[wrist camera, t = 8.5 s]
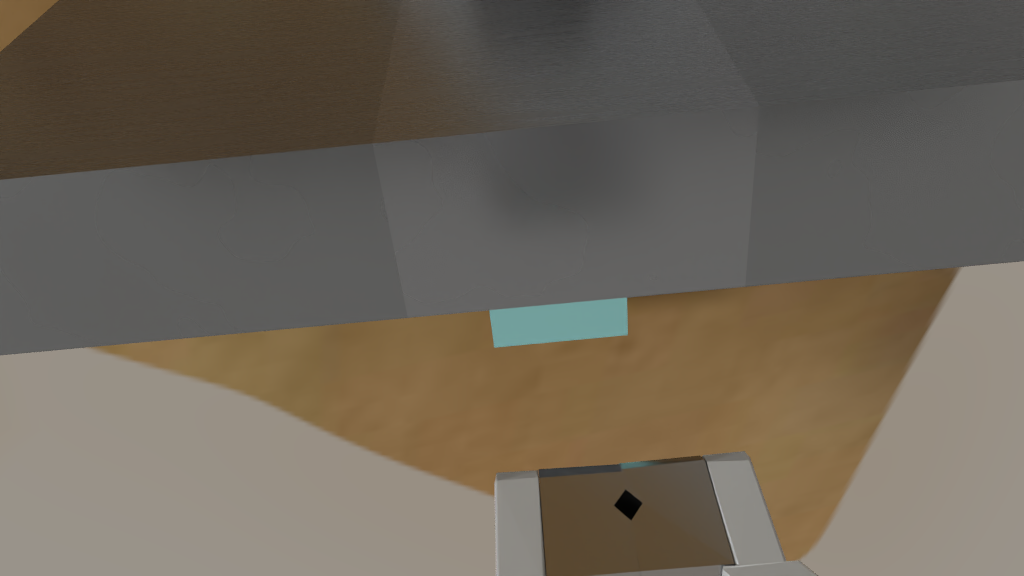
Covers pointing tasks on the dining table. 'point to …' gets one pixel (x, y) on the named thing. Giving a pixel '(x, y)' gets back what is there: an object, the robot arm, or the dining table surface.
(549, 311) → the plug
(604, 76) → the block
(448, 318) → the dining table surface
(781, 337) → the dining table surface
